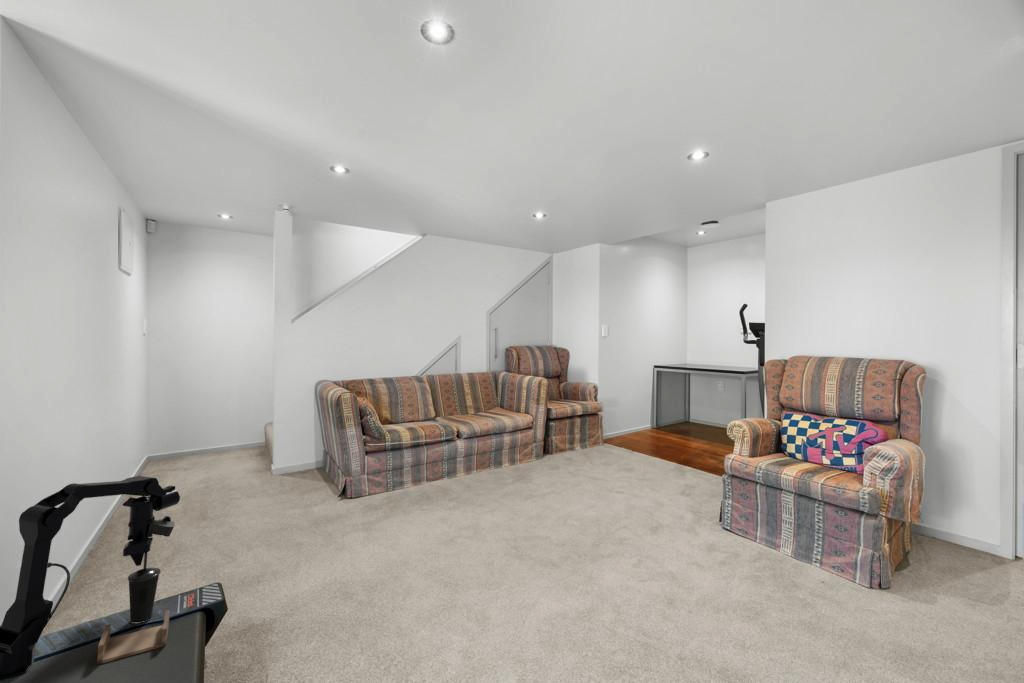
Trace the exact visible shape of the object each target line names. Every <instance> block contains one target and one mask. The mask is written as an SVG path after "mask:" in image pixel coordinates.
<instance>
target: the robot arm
mask: <svg viewBox="0 0 1024 683" xmlns="http://www.w3.org/2000/svg"><path fill="white" fill-rule="evenodd" d="M123 495H124V496H125V495H127V496H137V497H129V498H128V499H126V501H125V502H124V503H122V506H123V507H129V508H130V509H129V522H128V535H127V541H128V542H126V544H125V545H124V547H123V551H122V556H123V557H129V556H130V557H131V560H132V561H133V562H134V565H135V566H136V567H138V566H141V565H142V562H143V560H144V554H145V552H147V553H149V552H151V547H152V543H153V539H154V537H153V536H154V535H155V536H163V537H166V538H167V537H170V536H171V534H172V532H173V530H174V527H175V522H174V521H173V520H172V516H170V515H168V516H167V515H166V516H164V517H163V518H162V519H158V520H157V519H155V515H154V511H156V512H158V511H162V510H165V509H167V508H170V507H174V506H177V504H179V502H180V501H181V500H180V499H181V496H180V494H179V492H178V490H177V489H176V485H168V486H165V487H162V486H161V485H160V482H159V480H158V478H156V477H150V476H143V475H135V476H131V477H127V478H125V479H122V480H117V481H102V482H88V483H74V482H73V483H69V484H67V485H66V486H64V487H62V489H60V490H59V491H56V492H55V493H53V494H50V495H48V496H46V497H44V498H42V499H41V500H40V501H39V502H37V503H36V504H34V505H32V506H29V507H27V509H26V510H24V511H22V513H21V514H20V516H19V518H18V526H19V527H18V528H19V533H20V535H21V538H22V540H23V542H24V546H23V552H22V556H21V557H22V558H21V565H20V571H19V576H18V582H17V589H16V594H15V600H14V602H13V603H12V604H11V605H10V606H9V608H8V609H7V610H6V612H5V615H4V617H3V619H2V623H1V625H0V680H3V679H7V678H8V679H9V678H11V677H16V676H19V674H20V675H23V674H25V672H26V673H27V671H28V669H29V668H30V667H31V665H33V663H34V661H35V659H36V658H35V656H36V648H37V647H36V646H37V643H38V642H39V639H40V637H41V634H42V633H43V630H44V628H46V626H47V624H48V623H49V619H51V618H52V617H53V616H52V609H53V607H54V606H53V605H54V602H53V600H49V599H45V598H44V591H45V585H46V578H47V573H48V565H49V560H50V553H51V546H52V542H53V539H54V538H55V537H56V535H57V534H58V533H59V532H60V530H61V529H62V525H63V522H64V519H66V518H67V517H68V516H70V515H71V514H72V513H73V512H75V510H76V508H77V507H78V505H79V504H80V502H82V501H83V500H84V499H92V498H102V497H111V496H123ZM57 506H58V507H57Z"/></svg>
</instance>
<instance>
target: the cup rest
mask: <svg viewBox="0 0 1024 683" xmlns="http://www.w3.org/2000/svg"><path fill="white" fill-rule="evenodd" d="M170 612H171V611H170V609H168V610H165V612H164V617H163V618H164V619H163V624H162V625H158V626H153V627H149V628H146V629H142V630H138V631H134V632H130V633H129V632H128V633H126V634H121V635H117V636H114V637H111V627H112V626H111V623H108V624H106V625H105V627H104V629H103V632H102V635H101V636H100V640H99V643H98V646H97V660H96V665H97V664H98V665H101V664H100V663H102V664H104V663H109V662H112V661H115V660H116V661H117V660H119V659H122V658H126V657H131V656H134V655H138V654H141V653H145V652H147V651H148V652H149V651H153V650H156V649H159V648H162V647H166V646H167V640H168V633H169V626H170V625H169V624H170Z"/></svg>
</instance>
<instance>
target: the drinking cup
mask: <svg viewBox="0 0 1024 683" xmlns="http://www.w3.org/2000/svg"><path fill="white" fill-rule="evenodd" d="M147 563H148V552H145V553H144V556H143V568H142V569H138V570H136V571H134V572H132V573H131V574H129V575H128V577H127V581H128V590H129V591H128V592H129V593H128V594H129V595H128V597H129V615H130V616H129V618H130V620H131V621H130V623H131V622H142V621H146V620H148V619H149V620H150V619H151V618H152V616H153V610H154V603H155V598H156V594H157V587H158V583H159V577H160V575H161V568H159V567H147V565H148V564H147ZM149 620H148V621H149ZM146 622H147V621H146Z"/></svg>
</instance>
